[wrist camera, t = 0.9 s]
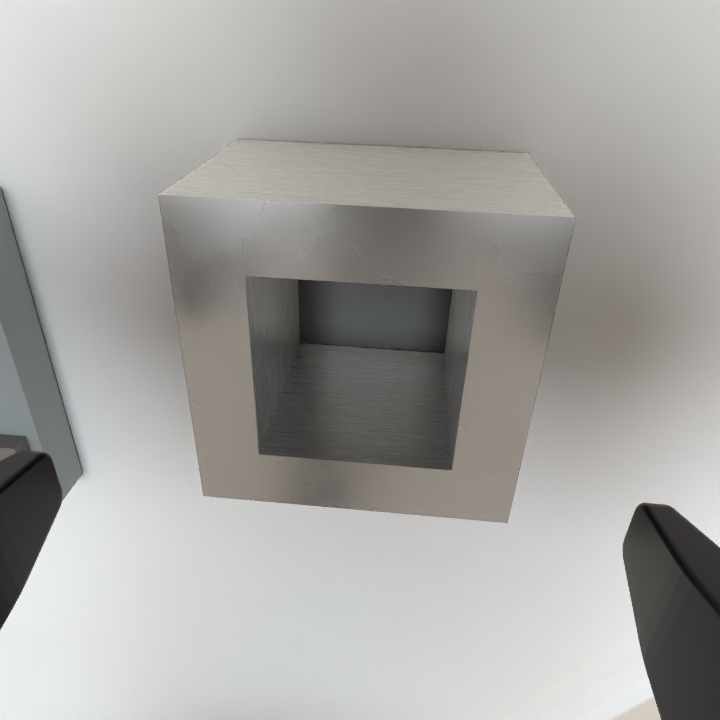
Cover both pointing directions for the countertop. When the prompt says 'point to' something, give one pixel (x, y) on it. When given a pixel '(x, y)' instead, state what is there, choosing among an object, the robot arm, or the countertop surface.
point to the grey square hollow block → (358, 364)
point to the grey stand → (28, 372)
